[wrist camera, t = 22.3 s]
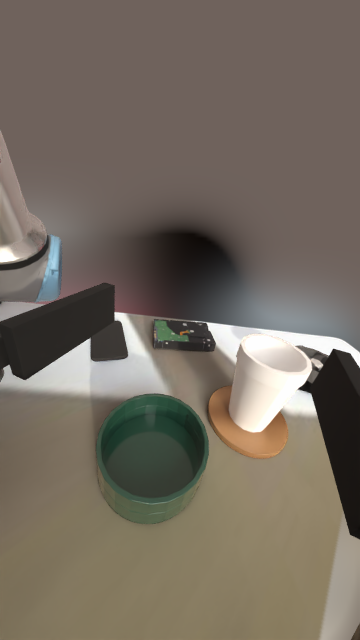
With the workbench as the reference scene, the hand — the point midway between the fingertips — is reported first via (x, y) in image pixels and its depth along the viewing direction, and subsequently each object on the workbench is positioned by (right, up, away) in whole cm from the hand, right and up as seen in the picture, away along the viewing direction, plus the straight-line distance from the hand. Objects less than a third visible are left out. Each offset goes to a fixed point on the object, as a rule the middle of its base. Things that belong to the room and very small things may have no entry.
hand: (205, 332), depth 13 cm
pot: (-5, -18, +15) cm, 24 cm away
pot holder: (+10, -16, +23) cm, 29 cm away
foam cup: (+10, -15, +22) cm, 29 cm away
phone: (-18, -4, +37) cm, 41 cm away
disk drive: (-1, -4, +42) cm, 42 cm away
